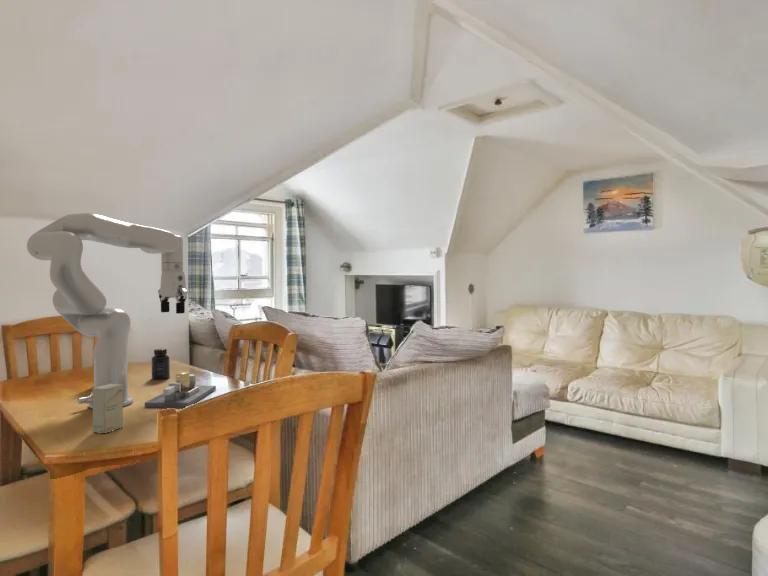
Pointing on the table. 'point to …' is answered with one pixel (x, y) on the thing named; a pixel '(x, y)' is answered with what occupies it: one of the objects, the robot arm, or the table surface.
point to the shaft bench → (180, 395)
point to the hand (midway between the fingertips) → (172, 312)
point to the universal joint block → (183, 381)
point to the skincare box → (107, 408)
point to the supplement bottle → (160, 364)
